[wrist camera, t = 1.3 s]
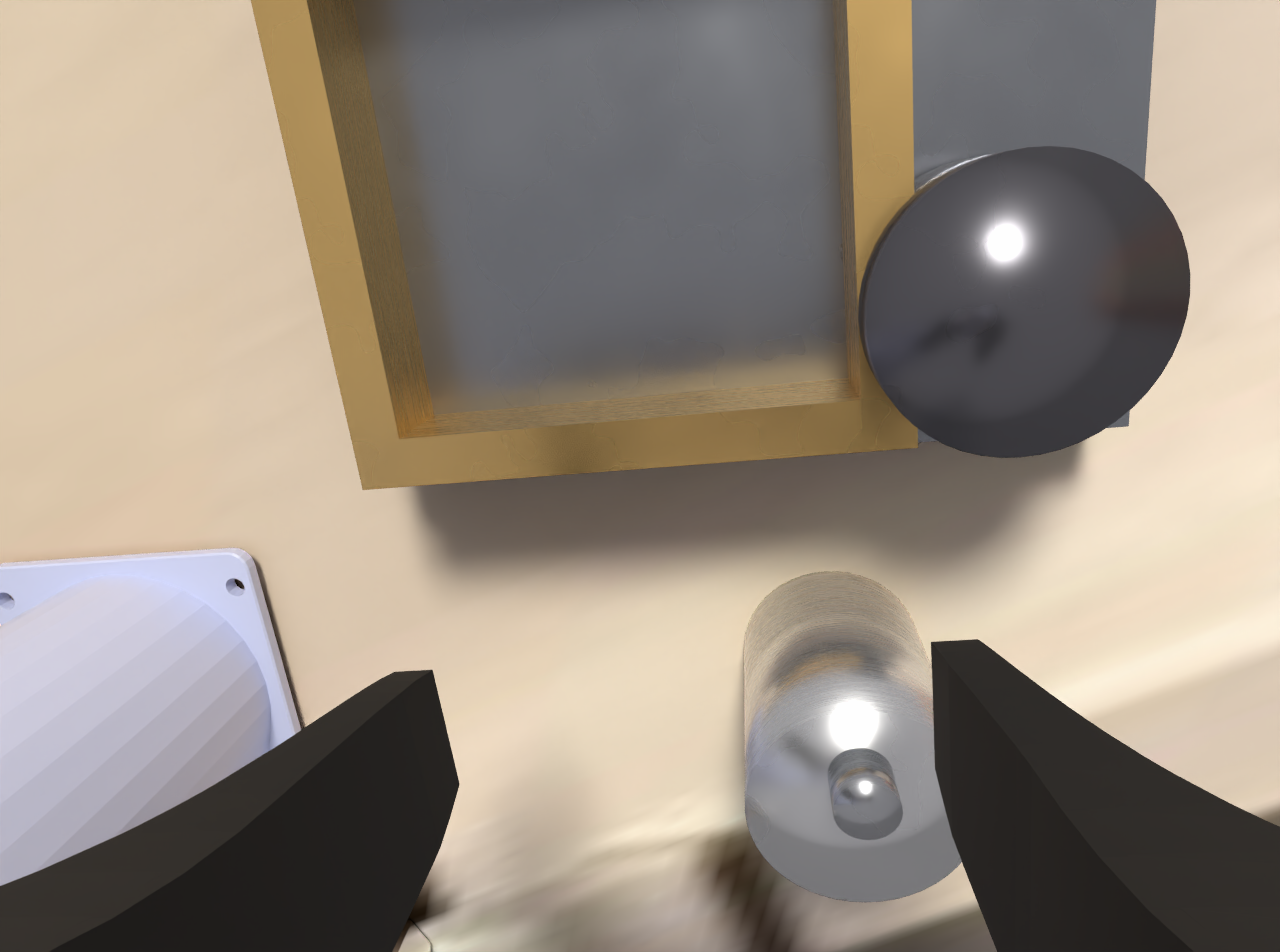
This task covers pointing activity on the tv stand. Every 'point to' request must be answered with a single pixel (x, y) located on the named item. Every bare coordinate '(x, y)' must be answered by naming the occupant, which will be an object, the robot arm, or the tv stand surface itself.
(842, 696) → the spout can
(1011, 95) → the grey piece
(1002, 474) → the tv stand surface
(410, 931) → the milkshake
